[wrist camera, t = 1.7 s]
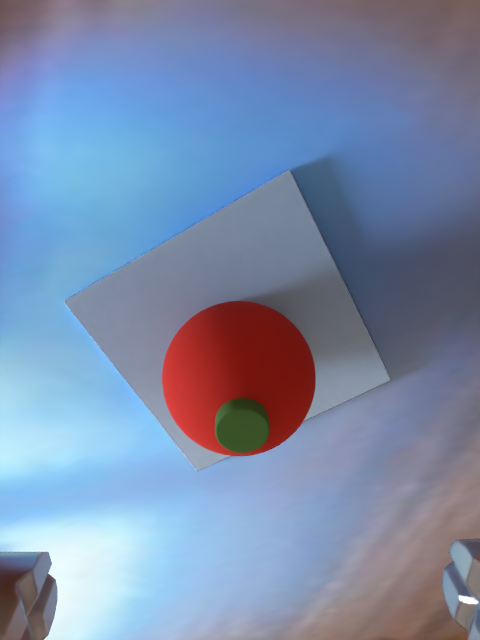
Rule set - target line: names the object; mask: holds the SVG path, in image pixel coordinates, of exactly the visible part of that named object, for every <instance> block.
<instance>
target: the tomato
mask: <svg viewBox="0 0 480 640" xmlns="http://www.w3.org/2000/svg"><path fill="white" fill-rule="evenodd" d="M162 386H163V393H164V398H165V401H166V405H167V407H168V410H169V412H170V414H171V416H172V418H173V419H174V421H175V422H176V424H177V425H178V426H179V428H180V429H181V430H182V431H183V432H184V434H185V435H187V436H188V437H189V438H190V439H191V440H193V441H194V442H196V443H197V444H199V445H200V446H202V447H204V448H206V449H208V450H210V451H213V452H215V453H219V454H223V455H229V456H249V455H254V454H259V453H262V452H265V451H268V450H270V449H272V448H274V447H276V446H278V445H280V444H281V443H282V442H284V441H285V440H286V439H288V438H289V437H290V436H291V435H292V434H293V433H294V432H295V431H296V430H297V429H298V428H299V427H300V425H301V424H302V422H303V421H304V419H305V417H306V415H307V413H308V411H309V409H310V407H311V404H312V401H313V397H314V392H315V387H316V371H315V364H314V360H313V357H312V353H311V350H310V348H309V346H308V343H307V342H306V340H305V338H304V337H303V335H302V334H301V332H300V331H299V329H298V328H297V327H296V326H295V325H294V324H293V323H292V322H291V321H290V320H289V319H287V318H286V317H285V316H284V315H282V314H281V313H279V312H278V311H276V310H274V309H272V308H270V307H268V306H265V305H261V304H258V303H254V302H248V301H229V302H224V303H220V304H216V305H213V306H211V307H208V308H206V309H204V310H202V311H200V312H199V313H197V314H196V315H194V316H193V317H192V318H190V319H189V320H188V321H187V322H186V323H185V324H184V325H183V326H182V327H181V328H180V329H179V331H178V332H177V333H176V335H175V336H174V338H173V339H172V341H171V343H170V345H169V348H168V350H167V353H166V356H165V359H164V364H163V371H162Z"/></svg>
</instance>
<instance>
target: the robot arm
mask: <svg viewBox="0 0 480 640" xmlns="http://www.w3.org/2000/svg"><path fill="white" fill-rule="evenodd" d="M449 554H450V556H451V558H452V559H453V561H452V562H451V563H450V564H449V565H447V566H446V567H445V568H444V572H443V577H442V586H443V595H444V598H445V601H446V604H447V607H448V609H449V611H450V613H451V616H452V618H453V620H454V621H455V622H456V623H457V624H458V625H460V626H461V627H462V628H463V629H464V630H465V631H466V632H468V635H467V640H480V539H460V540H455V541H454V542H453V543H452V544H451V547H450V550H449ZM51 564H52V563H51V559H50V556H49V553H48V552H0V640H44V639H45V638H46V637H47V636H48V634H49V631H50V628H51V625H52V622H53V619H54V615H55V610H56V604H57V585H56V580H55V579H54V578H53V577H52V576H50V575H49V574H48V572H49V569H50V567H51Z"/></svg>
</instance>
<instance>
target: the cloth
mask: <svg viewBox="0 0 480 640" xmlns="http://www.w3.org/2000/svg"><path fill="white" fill-rule="evenodd" d="M229 301H248V302H254V303H258V304H261V305H265V306H268V307H270V308H272V309H274V310H276V311H278V312H279V313H281V314H282V315H284V316H285V317H286V318H287V319H289V320H290V321H291V322H292V323H293V324H294V325H295V326H296V327H297V328H298V329H299V331H300V332H301V334H302V335H303V337H304V338H305V340H306V342H307V343H308V346H309V348H310V350H311V353H312V357H313V360H314V364H315V371H316V387H315V392H314V397H313V401H312V404H311V407H310V409H309V411H308V413H307V415H306V417H305V419H304V421H305V420H307V419H309V418H312V417H314V416H316V415H318V414H320V413H322V412H324V411H326V410H329V409H331V408H333V407H335V406H337V405H339V404H341V403H343V402H345V401H348V400H350V399H352V398H354V397H356V396H358V395H360V394H362V393H364V392H367V391H369V390H371V389H373V388H375V387H377V386H379V385H381V384H384V383H386V382H388V381H390V380H391V378H390V376H389V374H388V372H387V370H386V367H385V365H384V363H383V361H382V359H381V357H380V355H379V353H378V351H377V349H376V347H375V345H374V343H373V341H372V338H371V336H370V334H369V332H368V330H367V328H366V326H365V324H364V322H363V320H362V318H361V316H360V314H359V311H358V309H357V307H356V305H355V303H354V301H353V299H352V297H351V295H350V293H349V291H348V289H347V287H346V285H345V282H344V280H343V278H342V276H341V274H340V272H339V270H338V268H337V266H336V264H335V262H334V260H333V258H332V255H331V253H330V251H329V249H328V247H327V245H326V243H325V241H324V239H323V237H322V235H321V233H320V231H319V228H318V226H317V224H316V222H315V220H314V218H313V216H312V214H311V212H310V210H309V208H308V206H307V204H306V202H305V199H304V197H303V195H302V193H301V191H300V189H299V187H298V185H297V183H296V181H295V179H294V177H293V175H292V172H291V171H290V170H286V171H285V172H283V173H281V174H280V175H278V176H276V177H274V178H273V179H271V180H269V181H268V182H266V183H264V184H262V185H261V186H259V187H257V188H256V189H254V190H252V191H251V192H249V193H247V194H245V195H244V196H242V197H240V198H239V199H237V200H235V201H233V202H232V203H230V204H228V205H227V206H225V207H223V208H221V209H220V210H218V211H216V212H215V213H213V214H211V215H209V216H208V217H206V218H204V219H203V220H201V221H199V222H197V223H196V224H194V225H192V226H191V227H189V228H187V229H186V230H184V231H182V232H180V233H179V234H177V235H175V236H174V237H172V238H170V239H168V240H167V241H165V242H163V243H162V244H160V245H158V246H156V247H155V248H153V249H151V250H150V251H148V252H146V253H144V254H143V255H141V256H139V257H138V258H136V259H134V260H132V261H131V262H129V263H127V264H126V265H124V266H122V267H121V268H119V269H117V270H115V271H114V272H112V273H110V274H109V275H107V276H105V277H103V278H102V279H100V280H98V281H97V282H95V283H93V284H91V285H90V286H88V287H86V288H85V289H83V290H81V291H79V292H78V293H76V294H74V295H73V296H71V297H69V298H67V299H66V300H65V302H64V303H65V304H66V305H67V307H68V308H69V309H70V310H71V312H72V313H73V314H74V316H75V317H76V318H77V319H78V321H79V322H80V323H81V324H82V326H83V327H84V328H85V330H86V331H87V332H88V333H89V335H90V336H91V337H92V338H93V340H94V341H95V342H96V344H97V345H98V346H99V347H100V349H101V350H102V351H103V352H104V354H105V355H106V356H107V358H108V359H109V360H110V361H111V363H112V364H113V365H114V366H115V368H116V369H117V370H118V372H119V373H120V374H121V375H122V377H123V378H124V379H125V380H126V382H127V383H128V384H129V386H130V387H131V388H132V389H133V391H134V392H135V393H136V394H137V396H138V397H139V398H140V400H141V401H142V402H143V403H144V405H145V406H146V407H147V408H148V410H149V411H150V412H151V414H152V415H153V416H154V417H155V419H156V420H157V421H158V422H159V424H160V425H161V426H162V428H163V429H164V430H165V431H166V433H167V434H168V435H169V436H170V438H171V439H172V440H173V442H174V443H175V444H176V445H177V447H178V448H179V449H180V450H181V452H182V453H183V454H184V456H185V457H186V458H187V459H188V461H189V462H190V463H191V464H192V466H193V467H194V468H195V470H196V471H200V470H202V469H204V468H206V467H208V466H210V465H212V464H214V463H216V462H219V461H221V460H223V459H225V458H227V457H229V455H223V454H219V453H215V452H213V451H210V450H208V449H206V448H204V447H202V446H200V445H199V444H197V443H196V442H194V441H193V440H191V439H190V438H189V437H188V436H187V435H185V434H184V432H183V431H182V430H181V429H180V428H179V426H178V425H177V424H176V422H175V421H174V419H173V418H172V416H171V414H170V412H169V410H168V407H167V405H166V401H165V398H164V393H163V386H162V371H163V364H164V359H165V356H166V353H167V350H168V348H169V345H170V343H171V341H172V339H173V338H174V336H175V335H176V333H177V332H178V331H179V329H180V328H181V327H182V326H183V325H184V324H185V323H186V322H187V321H188V320H189V319H190V318H192V317H193V316H194V315H196V314H197V313H199V312H200V311H202V310H204V309H206V308H208V307H211V306H213V305H216V304H220V303H224V302H229Z"/></svg>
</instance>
